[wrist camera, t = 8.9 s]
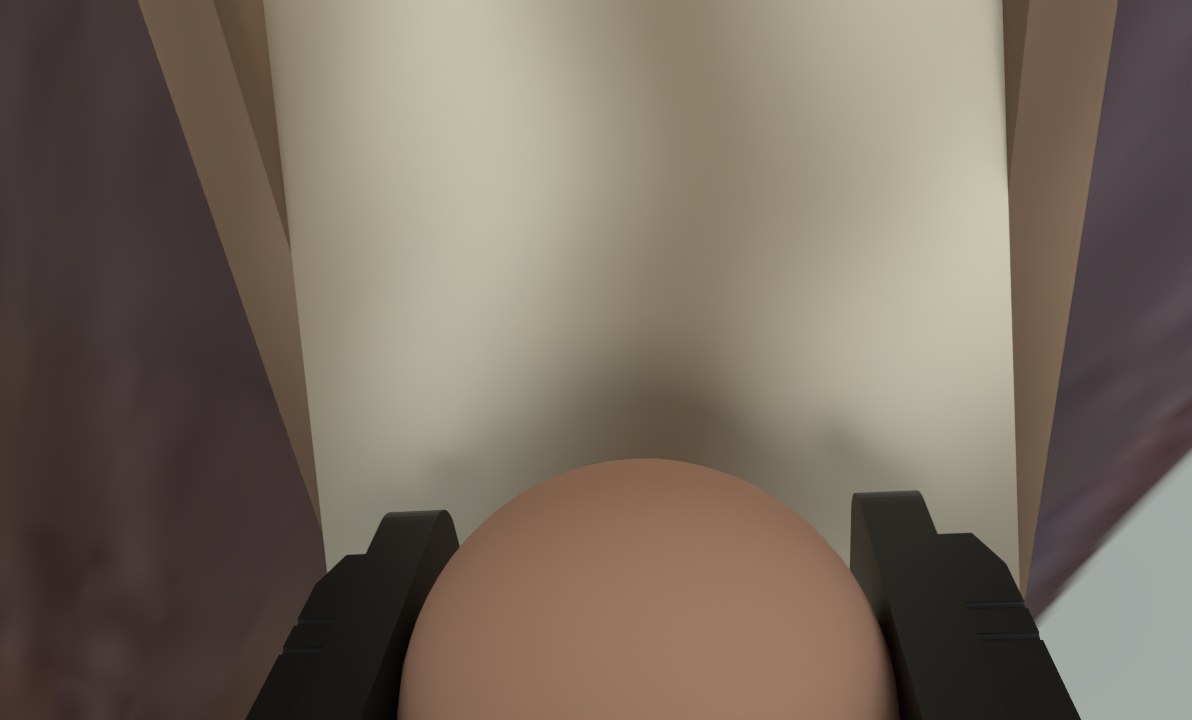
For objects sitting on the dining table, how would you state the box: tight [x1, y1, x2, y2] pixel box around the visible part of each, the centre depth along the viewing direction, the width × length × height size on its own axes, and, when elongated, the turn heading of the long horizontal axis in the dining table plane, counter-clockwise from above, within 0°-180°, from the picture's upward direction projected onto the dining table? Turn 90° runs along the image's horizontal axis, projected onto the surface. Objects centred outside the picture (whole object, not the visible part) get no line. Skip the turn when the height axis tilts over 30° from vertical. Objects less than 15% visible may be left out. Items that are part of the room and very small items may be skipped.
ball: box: [397, 459, 900, 720], centre depth 9 cm, size 5×5×5 cm
